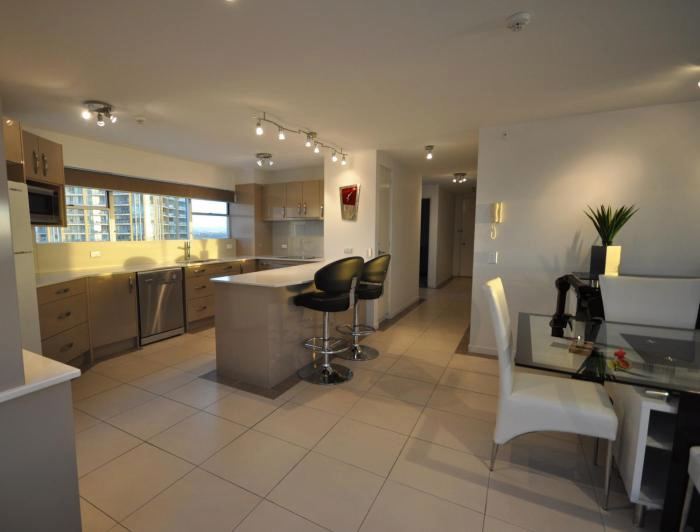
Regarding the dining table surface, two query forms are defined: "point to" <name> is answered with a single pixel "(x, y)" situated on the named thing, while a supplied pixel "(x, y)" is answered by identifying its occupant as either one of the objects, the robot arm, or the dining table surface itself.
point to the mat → (560, 345)
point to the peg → (580, 341)
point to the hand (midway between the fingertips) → (581, 333)
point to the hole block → (586, 351)
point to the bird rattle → (625, 362)
